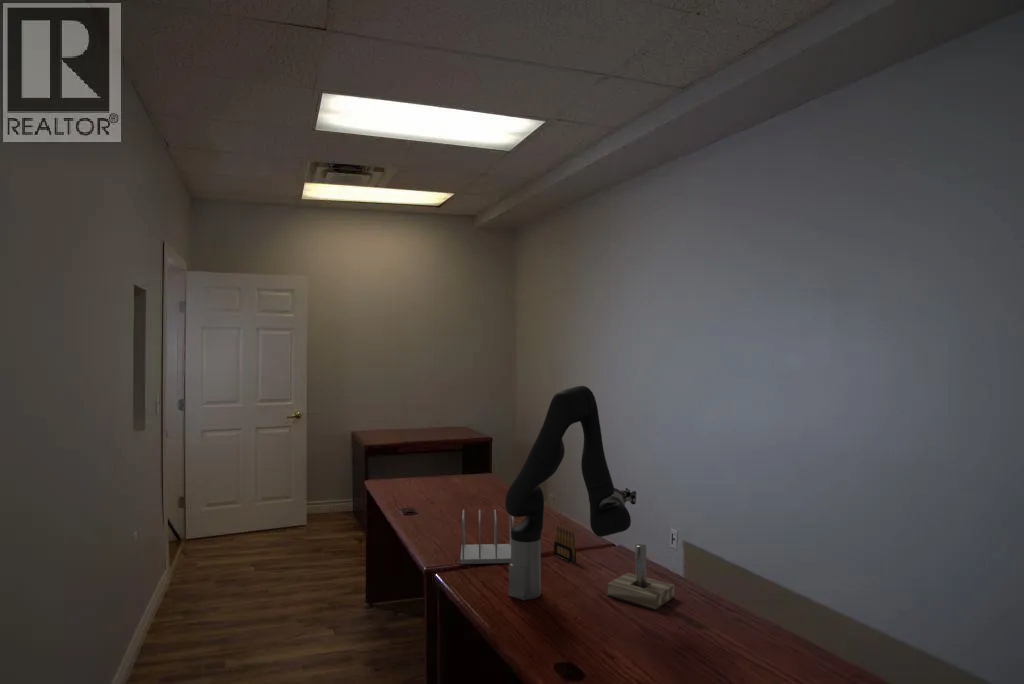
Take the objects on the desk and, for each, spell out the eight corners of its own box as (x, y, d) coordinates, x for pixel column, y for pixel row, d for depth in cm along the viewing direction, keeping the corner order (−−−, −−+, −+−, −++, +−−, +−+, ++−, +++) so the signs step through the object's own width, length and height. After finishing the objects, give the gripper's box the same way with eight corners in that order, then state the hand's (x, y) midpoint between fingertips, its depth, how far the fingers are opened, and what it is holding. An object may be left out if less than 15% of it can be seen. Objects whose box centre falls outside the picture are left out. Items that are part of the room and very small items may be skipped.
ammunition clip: (553, 554, 236) (553, 521, 236) (557, 554, 237) (558, 521, 237) (571, 563, 227) (572, 529, 227) (576, 562, 228) (576, 528, 228)
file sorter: (528, 548, 244) (528, 506, 244) (532, 564, 227) (532, 519, 227) (461, 549, 243) (461, 507, 243) (460, 565, 225) (460, 520, 225)
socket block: (655, 610, 188) (655, 596, 188) (607, 596, 198) (607, 583, 198) (674, 598, 197) (674, 584, 197) (627, 585, 207) (627, 572, 207)
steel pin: (643, 598, 195) (643, 547, 195) (633, 595, 197) (633, 546, 197) (648, 595, 197) (648, 545, 198) (638, 592, 199) (638, 543, 200)
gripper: (637, 492, 185) (636, 479, 201) (586, 489, 188) (589, 477, 204) (636, 518, 186) (635, 503, 202) (586, 515, 188) (589, 501, 204)
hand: (612, 490), depth 203 cm, fingers open, 8 cm apart
